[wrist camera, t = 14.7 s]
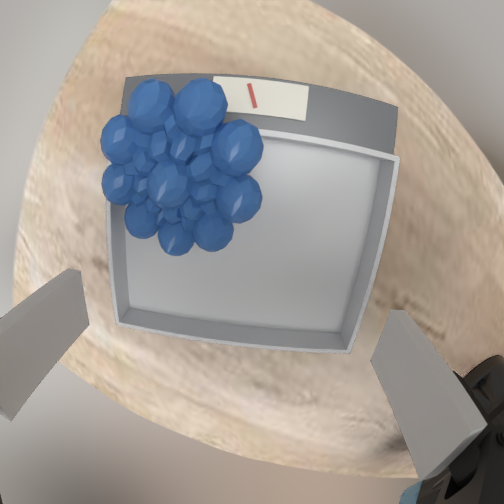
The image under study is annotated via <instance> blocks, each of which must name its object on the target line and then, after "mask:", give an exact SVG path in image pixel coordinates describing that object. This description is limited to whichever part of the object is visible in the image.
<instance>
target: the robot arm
mask: <svg viewBox="0 0 504 504" xmlns="http://www.w3.org/2000/svg"><path fill="white" fill-rule="evenodd" d="M89 325H90V324H89V319H88V314H87V309H86V303H85V297H84V291H83V285H82V277H81V271H78V270H73V269H66V270H65V271H63V272H62V273H61V274H59V275H58V276H56V277H55V278H53V279H52V280H51V281H49V282H48V283H46V284H45V285H44V286H42V287H41V288H39V289H38V290H37V291H35V292H34V293H33V294H31V295H30V296H29V297H27V298H26V299H25V300H23V301H22V302H21V303H20V304H18V305H17V306H16V307H14V308H13V309H12V310H11V311H9V312H8V313H7V314H6V315H4V316H3V317H1V318H0V414H1V415H3V416H4V417H5V418H7V419H8V420H10V421H12V420H13V418H14V417H15V416H16V414H17V413H18V412H19V410H20V409H21V407H22V406H23V404H24V403H25V402H26V401H27V399H28V398H29V397H30V395H31V394H32V393H33V391H34V390H35V389H36V388H37V386H38V385H39V384H40V383H41V381H42V380H43V379H44V377H45V376H46V375H47V374H48V373H49V371H50V370H51V369H52V368H53V366H54V365H55V364H56V363H57V361H58V360H59V359H60V358H61V357H62V356H63V354H64V353H65V352H66V351H67V350H68V348H69V347H70V346H71V345H72V344H73V343H74V342H75V340H76V339H77V338H78V337H79V336H80V335H81V334H82V332H83V331H84V330H85V329H86V328H87V327H88V326H89ZM370 361H371V363H372V365H373V367H374V369H375V372H376V374H377V376H378V378H379V380H380V383H381V385H382V387H383V389H384V392H385V394H386V396H387V398H388V401H389V403H390V405H391V408H392V410H393V413H394V415H395V417H396V420H397V422H398V425H399V427H400V430H401V432H402V435H403V437H404V440H405V442H406V445H407V447H408V450H409V453H410V455H411V458H412V461H413V463H414V466H415V469H416V472H417V474H418V477H419V480H420V481H419V482H417V483H415V484H413V485H411V486H410V487H408V488H407V489H406V490H405V491H404V492H403V493H402V495H401V498H400V501H399V504H504V358H503V357H502V356H494V357H492V358H490V359H488V360H486V361H484V362H483V363H481V364H480V365H479V366H477V367H476V368H475V369H474V370H473V371H472V372H470V373H469V374H468V375H467V376H466V377H465V378H464V379H463V378H462V377H461V376H459V375H458V374H457V373H456V372H455V371H452V370H451V369H450V367H449V366H448V364H447V363H446V362H445V360H444V359H443V358H442V356H441V355H440V354H439V352H438V351H437V350H436V348H435V347H434V346H433V344H432V343H431V342H430V340H429V339H428V338H427V336H426V335H425V334H424V333H423V331H422V330H421V329H420V328H419V326H418V325H417V324H416V323H415V321H414V320H413V319H412V318H411V316H410V315H409V314H408V313H407V312H406V310H394V309H391V310H390V313H389V316H388V318H387V321H386V324H385V326H384V329H383V332H382V334H381V337H380V339H379V342H378V344H377V346H376V349H375V351H374V354H373V356H372V358H371V360H370ZM0 504H3V503H2V499H1V495H0Z"/></svg>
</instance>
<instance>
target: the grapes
mask: <svg viewBox="0 0 504 504" xmlns="http://www.w3.org/2000/svg"><path fill="white" fill-rule="evenodd" d="M227 107H228V102H227V99H226V96H225V93H224V91H223V89H222V87H221V85H219V84H217V83H215V82H213V81H211V80H209V79H206V78H204V77H203V78H199V79H195V80H191V81H190V82H188V83H187V84H185V86H184V87H183V88H182V89H181V90H180V91H179V92H178V93H177V94H176V98H175V94H174V91H173V90H172V89H171V87H170V86H169V84H167V83H166V82H164V81H161V80H158V79H155V78H151V79H148V80H145V81H142V82H141V83H140V84H139V85H138V86H137V87H136V88H135V90H134V91H133V92H132V93H131V94H130V97H129V100H128V104H127V111H128V115H123V114H120V115H117V116H115V117H113V118H111V119H110V120H109V122H108V123H107V124H106V126H105V127H104V128H103V130H102V135H101V139H100V143H101V150H102V152H103V154H104V156H105V157H106V159H107V160H109V161H110V162H111V163H113V164H111V165H109V166H108V167H107V169H106V170H105V172H104V173H103V177H102V183H101V184H102V189H103V193H104V195H105V197H106V198H107V200H108V201H109V202H111V203H113V204H115V205H122V206H125V205H127V204H128V206H127V207H126V209H125V214H124V221H125V225H126V228H127V230H128V231H129V233H130V234H131V235H132V236H133V237H136V238H138V239H148V238H150V237H152V236H154V235H155V234H156V232H157V231H158V240H159V243H160V246H161V248H162V249H163V250H164V252H165V253H167V254H169V255H171V256H181V255H184V254H186V253H188V252H189V251H190V249H191V248H192V247H193V245H194V242H195V243H196V244H197V245H198V246H199V248H201V249H203V250H205V251H207V252H216V251H219V250H221V249H223V248H225V247H226V246H227V245H228V243H229V242H230V241H231V240H232V237H233V232H234V227H233V223H238V224H241V223H244V222H246V221H249V220H250V219H251V218H253V217H254V215H255V214H256V213H257V212H258V211H259V210H260V208H261V203H262V199H263V196H262V193H261V189H260V186H259V184H258V182H257V181H256V180H255V179H254V178H252V177H251V176H250V175H246V174H249V173H250V172H251V171H252V170H253V168H254V167H255V166H256V165H257V164H258V163H259V161H260V160H261V158H262V153H263V149H264V145H263V142H262V139H261V136H260V133H259V130H258V128H257V127H256V126H254V125H253V124H251V123H250V122H247V121H245V120H243V119H238V120H234V121H231V122H227V123H224V124H223V121H224V118H225V115H226V111H227Z"/></svg>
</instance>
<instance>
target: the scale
mask: <svg viewBox="0 0 504 504" xmlns="http://www.w3.org/2000/svg"><path fill="white" fill-rule="evenodd" d="M203 77H204V78H206V79H209V80H211V81H213V82H215V83H217V84H219V85H221V87H222V89H223V91H224V93H225V96H226V99H227V102H228V107H227V111H226V115H225V118H224V121H223V124H224V123H227V122H231V121H234V120H238V119H243V120H245V121H247V122H250V123H251V124H253V125H254V126H256V127H257V128H258V130H259V133H260V136H261V139H262V142H263V145H264V149H263V153H262V158H261V160H260V161H259V163H258V164H257V165H256V166H255V167H254V168H253V170H252V171H251V172H250V173H249V174H246V175H250V176H251V177H252V178H254V179H255V180H256V181H257V182H258V184H259V186H260V189H261V193H262V196H263V199H262V203H261V208H260V210H259V211H258V212H257V213H256V214H255V215H254V217H253V218H251V219H250V220H249V221H246V222H244V223H241V224H238V223H233V227H234V232H233V237H232V240H231V241H230V242H229V243H228V245H227V246H226V247H225V248H223V249H221V250H219V251H216V252H207V251H205V250H203V249H201V248H199V246H198V245H197V244H196V243H195V242H194V245H193V247H192V248H191V249H190V251H189V252H188V253H186V254H184V255H181V256H171V255H169V254H167V253H165V252H164V250H163V249H162V248H161V246H160V243H159V240H158V231H157V232H156V234H155V235H154V236H152V237H150V238H148V239H138V238H136V237H133V236H132V235H131V234H130V233H129V231H128V230H127V228H126V225H125V221H124V214H125V209H126V207H127V206H128V204H127V205H125V206H122V205H115V204H113V203H111V202H109V201H108V200H107V198H106V232H107V252H108V265H109V277H110V286H111V295H112V303H113V310H114V317H115V323H116V325H118V326H122V327H127V328H131V329H136V330H141V331H145V332H150V333H155V334H161V335H166V336H171V337H177V338H183V339H189V340H195V341H202V342H209V343H216V344H223V345H231V346H240V347H249V348H259V349H269V350H281V351H296V352H314V353H343V354H350V352H351V349H352V346H353V344H354V341H355V338H356V336H357V333H358V330H359V327H360V324H361V321H362V318H363V316H364V313H365V309H366V306H367V303H368V300H369V297H370V294H371V290H372V287H373V284H374V280H375V277H376V273H377V269H378V266H379V262H380V258H381V254H382V250H383V246H384V242H385V238H386V233H387V229H388V224H389V220H390V215H391V210H392V205H393V199H394V194H395V188H396V182H397V176H398V169H399V162H400V157H399V156H395V155H393V154H394V146H395V137H396V127H397V115H398V107H397V106H394V105H391V104H388V103H385V102H381V101H378V100H375V99H371V98H368V97H364V96H361V95H357V94H353V93H349V92H345V91H341V90H337V89H332V88H328V87H323V86H318V85H313V84H307V83H302V82H295V81H289V80H282V79H275V78H266V77H257V76H245V75H231V74H200V73H191V74H160V75H145V76H135V77H126V79H125V85H124V91H123V98H122V104H121V112H120V114H123V115H128V111H127V104H128V100H129V97H130V94H131V93H132V92H133V91H134V90H135V88H136V87H137V86H138V85H139V84H140V83H141V82H142V81H145V80H148V79H151V78H155V79H158V80H161V81H164V82H166V83H167V84H169V86H170V87H171V89H172V90H173V91H174V94H175V98H176V94H177V93H178V92H179V91H180V90H181V89H182V88H183V87H184V86H185V84H187V83H188V82H190V81H191V80H195V79H199V78H203ZM111 164H113V163H111V162H110V161H109V160H107V167H108V166H109V165H111Z"/></svg>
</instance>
